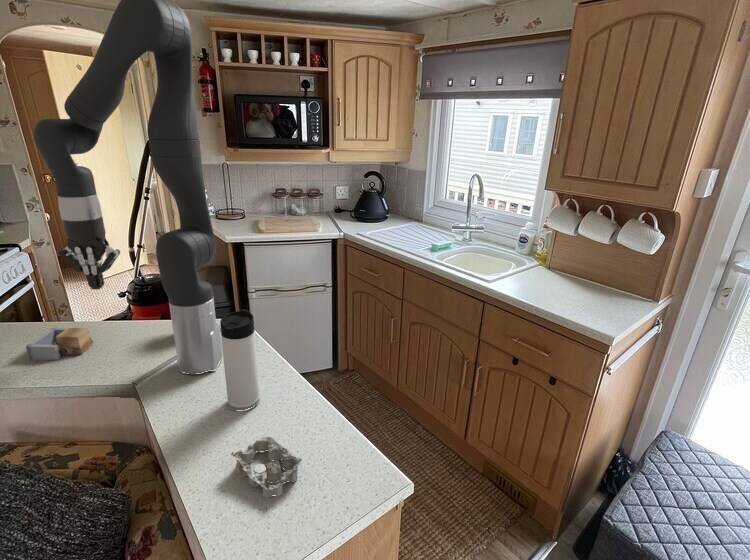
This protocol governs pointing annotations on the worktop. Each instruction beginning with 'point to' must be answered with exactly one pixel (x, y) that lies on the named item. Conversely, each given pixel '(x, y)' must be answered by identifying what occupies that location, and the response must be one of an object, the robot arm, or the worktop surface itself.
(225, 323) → the travel mug
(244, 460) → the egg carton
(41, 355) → the bay
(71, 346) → the small wooden block
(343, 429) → the worktop surface
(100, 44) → the robot arm
